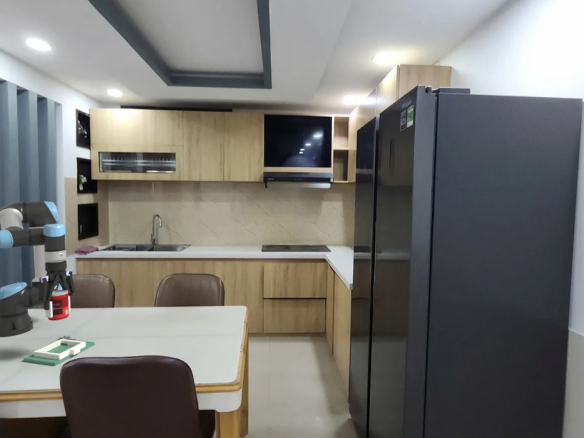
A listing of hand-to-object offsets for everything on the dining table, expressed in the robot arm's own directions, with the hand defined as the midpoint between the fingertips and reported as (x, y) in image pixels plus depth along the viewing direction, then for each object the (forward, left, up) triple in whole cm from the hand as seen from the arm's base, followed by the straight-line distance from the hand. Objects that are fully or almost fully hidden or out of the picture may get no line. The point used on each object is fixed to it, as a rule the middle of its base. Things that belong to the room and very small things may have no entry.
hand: (58, 313), depth 147 cm
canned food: (0, 0, -2) cm, 2 cm away
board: (0, +1, -18) cm, 18 cm away
